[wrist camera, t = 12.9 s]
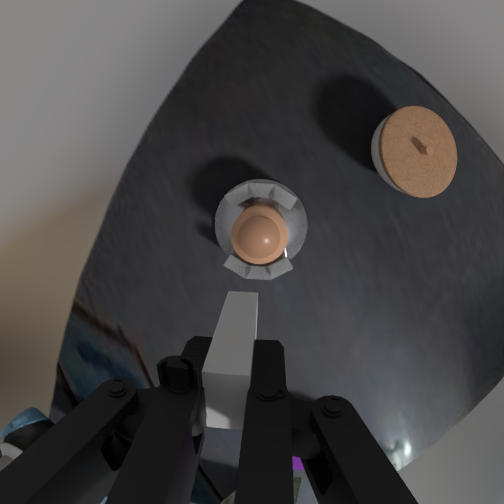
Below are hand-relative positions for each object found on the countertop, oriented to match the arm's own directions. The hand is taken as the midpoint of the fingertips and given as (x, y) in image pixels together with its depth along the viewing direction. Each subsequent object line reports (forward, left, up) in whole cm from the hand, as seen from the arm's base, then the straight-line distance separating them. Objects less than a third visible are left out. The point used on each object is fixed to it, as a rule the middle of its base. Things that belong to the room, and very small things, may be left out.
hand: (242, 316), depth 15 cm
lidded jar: (+18, +11, -25) cm, 33 cm away
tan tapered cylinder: (0, +1, -24) cm, 24 cm away
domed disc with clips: (0, 0, -24) cm, 24 cm away
